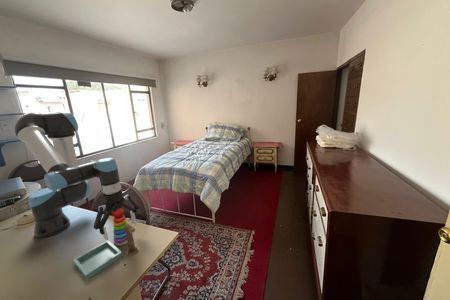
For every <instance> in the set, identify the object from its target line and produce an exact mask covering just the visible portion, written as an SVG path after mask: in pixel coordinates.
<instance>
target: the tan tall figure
mask: <svg viewBox="0 0 450 300" xmlns="http://www.w3.org/2000/svg"><path fill="white" fill-rule="evenodd" d="M123 227H124V229H125V231H126V236H127V241H128V243H127V245H128V249H127V252H126V253H127V256H134V255H136V254H137V253H138V252H139V248H138V247H137V246H136V245H135V240H134V236H133V233H135V232H136V228H135V227H133V226H132V225H131V224H129V223H127V224H126V225H124V226H123Z"/></svg>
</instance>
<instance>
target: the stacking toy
mask: <svg viewBox="0 0 450 300" xmlns="http://www.w3.org/2000/svg"><path fill="white" fill-rule="evenodd" d="M124 213H125V209H124V207H123V206H122V207H121V208H118V209H117V210H115V211H112V213H111V215H112V217H113V218H112V221H113V223H112V225H113V226H112V227H113V239H112V240H113V245H114V246H116V247H122V246H125V245H126V246H127V245H128V241H127V236H126V231H125V229H124V227H123V226H124V225H126V224H128V222H127V219H126V216H125V215H124Z"/></svg>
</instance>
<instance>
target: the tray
mask: <svg viewBox="0 0 450 300" xmlns="http://www.w3.org/2000/svg"><path fill="white" fill-rule="evenodd" d="M123 257H124V254H123V252H122V250H120V248H118V246H115V245H114V243H112V242H111V241H110V240H109V239H108V240H106V241H104V242H102V243H99V245H96V246H95V247H93V248H91V249H89V250H88V251H85V252H84V253H83V254H81V255H79V256H77V257H75V258H73V259H72V260H73V264H74V265H75V267H76V268H77V270H78V271H79V272H80V273H81V275H82V276H83V277H84V279H85V280H86V281H89V280H90V279H92V278H93V277H95V276H97V275H98V274H99V273H100V272H102V271H104V270H106V269H107V268H108V267H109V266H111V265H113V264H114V263H115V262H117V261H118V260H120V259H122V258H123Z"/></svg>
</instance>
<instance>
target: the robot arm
mask: <svg viewBox="0 0 450 300" xmlns="http://www.w3.org/2000/svg"><path fill="white" fill-rule="evenodd" d="M78 130H79V124H78V122H77V119H76V118H75V116H74V115H73V114H72V113H71V112H69V111H66V110H63V111H61V110H60V111H59V110H57V111H56V110H55V111H54V110H53V111H44V112H43V111H41V112H29V113H26V114H24V115H22V116H21V117H19V118H18V119H17V121H16V122H15V125H14V133H15V136H16V137H17V139H18V140H19V141H20V142H21V143H22V142H23V143H25V145H26V147H27V148H28V150H29V151H30V152H31V153H32V154H33V156H34V157H35V159H36V160H37V161H38V162H39V164H40V166H41V167H42V169H43V170H44V171H45V172H46V174H44V175H43V176H44V177H43V181H44V182H45V185H46V187H44V188H42V189H38V190H37V191H35V192H33V193H32V194H30V195H29V196H28V198H27V199H28V200H27V201H28V206H29V208H30V211H31V213H32V218H33V219H34V227H33V228H34V230H33V235H34V237H35V238H37V239H43V238H48V237H53V236H55V235H58V234H60V233H61V232H63V231H64V230H65V231H66V229H67V228H68V227H70V225H71V222H70V218H69V217H68V216H66V214H65V213H64V212H63V211H64V210H63V208H65V207H68V206H71V205H73V204H75V203H78V202H81V201H83V200H85V199H87V198H89V197H90V195H91V193H92V192H91V191H92V190H91V185H90V182H89V181H90V180H92V179H95V178H99V182H100V187H101V190H102V194H103V195H102V196H103V199H104V205H98V206H97V213H96V217H95V221H94V223H93V226H92V227H93V229H95V230H96V231H97V230H99V234H101V235H102V236H103V239H104V240H106V241H107V240H108V241H109V237H108V233H107V229H106V227H105V225H106V223H107V221H108V220H109V217H110V215H112V211H115V210H117V209H118V208H121V207H122V208H125V209H128V210H130V212H129V213H130V217H131V223H132V225H137V220H136V218H137V210H139V209H140V207H139V206H138V205H137V204H136V202H135V201H134V200H133V198H132V197H131V195H129V194H128V193H127V194H125V195H123V189H122V185H121V181H120V175H119V170H118V169H119V168H118V164H117V161H116V159H115V158H114V157H105V158H100V159H97V160H96V159H94V160H93V159H91V160H88V161H86V162H85V163H83V164H78V158H77V153H76V149H75V144H74V139H73V138H74V137H75V135H76V134H75V132H77V131H78ZM50 140H51V141H52V143H51V141H50ZM125 200H126V201H127V202H128V203H129V204H130V205H131V206H132V207H131V206H129V205H128V204H125V203H124V202H125ZM104 211H105V212H104Z"/></svg>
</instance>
